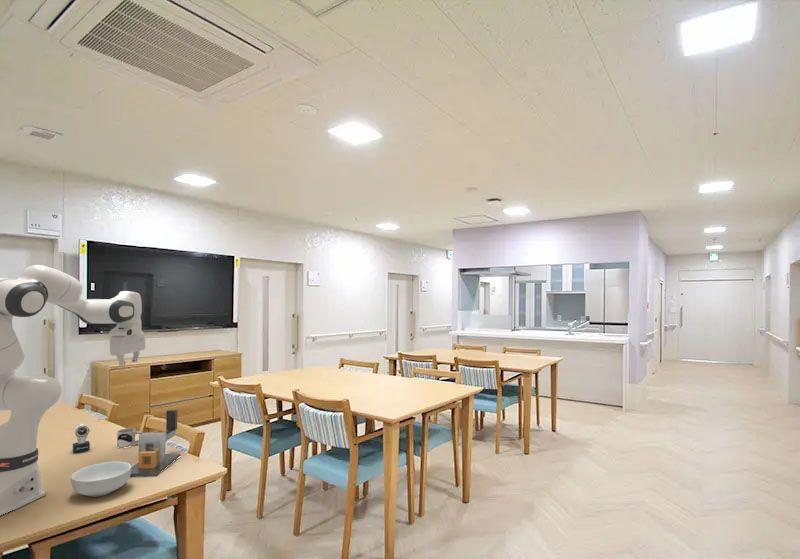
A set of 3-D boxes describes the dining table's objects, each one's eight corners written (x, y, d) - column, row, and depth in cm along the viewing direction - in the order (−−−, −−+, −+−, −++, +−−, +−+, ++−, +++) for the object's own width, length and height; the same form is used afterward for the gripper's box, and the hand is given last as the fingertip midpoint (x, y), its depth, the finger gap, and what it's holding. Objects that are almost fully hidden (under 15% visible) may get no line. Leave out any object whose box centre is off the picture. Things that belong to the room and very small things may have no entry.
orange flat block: (153, 468, 169) (154, 452, 169) (138, 468, 168) (138, 453, 169) (156, 466, 171) (156, 451, 171) (141, 466, 170) (141, 451, 171)
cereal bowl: (56, 501, 144) (57, 478, 145) (98, 480, 161) (98, 460, 161) (105, 504, 142) (105, 481, 142) (142, 482, 159) (142, 462, 159)
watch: (74, 454, 186) (74, 427, 187) (72, 449, 192) (72, 423, 193) (90, 451, 190) (91, 425, 190) (88, 446, 196) (88, 421, 196)
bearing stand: (156, 476, 164) (156, 441, 164) (122, 477, 163) (122, 441, 164) (180, 456, 184) (181, 425, 184) (150, 457, 183) (151, 425, 184)
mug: (115, 449, 193) (115, 433, 193) (119, 444, 199) (119, 429, 200) (141, 446, 196) (141, 431, 196) (145, 442, 202) (145, 427, 203)
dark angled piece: (158, 447, 174) (158, 420, 174) (148, 447, 174) (149, 420, 174) (177, 434, 190) (177, 409, 190) (168, 434, 190) (168, 409, 190)
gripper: (134, 328, 198) (134, 360, 197) (106, 332, 177) (105, 367, 177) (149, 328, 198) (149, 360, 198) (123, 332, 178) (122, 367, 177)
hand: (128, 363), depth 187 cm, fingers open, 8 cm apart
